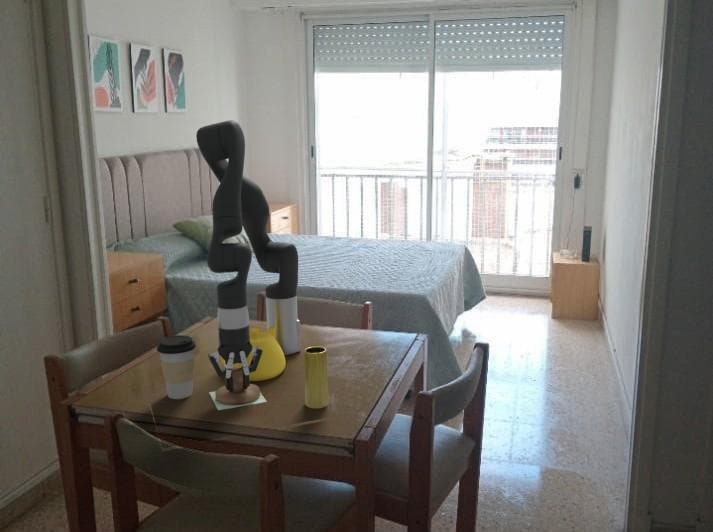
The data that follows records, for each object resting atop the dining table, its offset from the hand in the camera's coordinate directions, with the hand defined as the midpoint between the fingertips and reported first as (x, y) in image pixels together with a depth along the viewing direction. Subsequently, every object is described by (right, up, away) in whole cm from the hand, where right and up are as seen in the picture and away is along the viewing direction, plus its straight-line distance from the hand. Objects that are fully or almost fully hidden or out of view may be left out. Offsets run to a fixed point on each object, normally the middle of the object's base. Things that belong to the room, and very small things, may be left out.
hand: (237, 389), depth 171 cm
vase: (+20, -3, -4) cm, 21 cm away
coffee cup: (-15, -3, +3) cm, 16 cm away
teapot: (+1, +1, +20) cm, 20 cm away
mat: (0, -3, 0) cm, 3 cm away
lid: (0, -2, 0) cm, 2 cm away
